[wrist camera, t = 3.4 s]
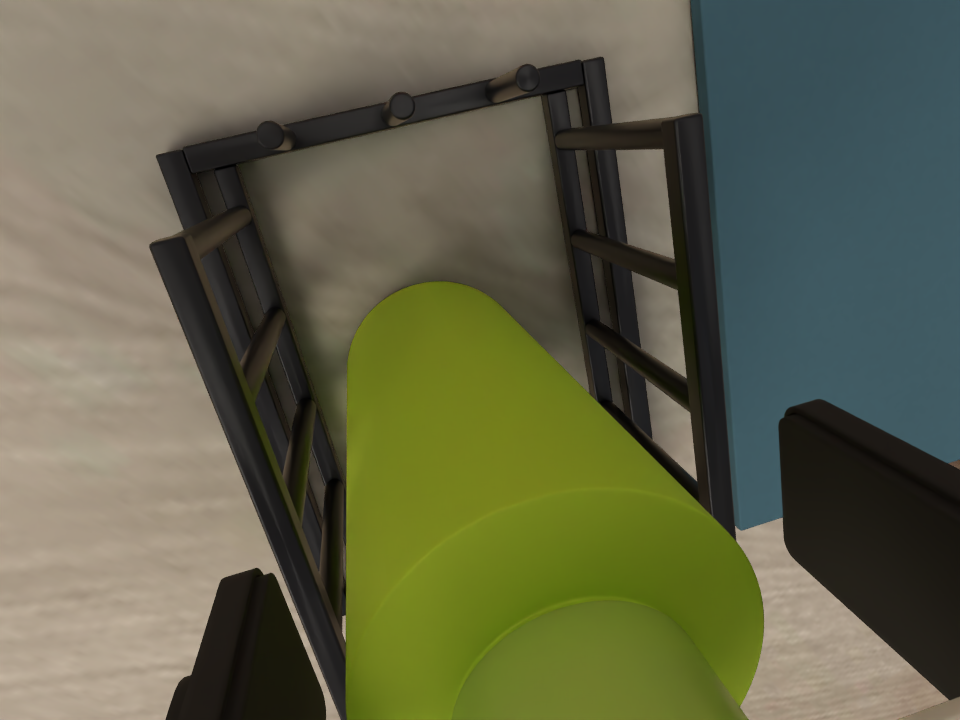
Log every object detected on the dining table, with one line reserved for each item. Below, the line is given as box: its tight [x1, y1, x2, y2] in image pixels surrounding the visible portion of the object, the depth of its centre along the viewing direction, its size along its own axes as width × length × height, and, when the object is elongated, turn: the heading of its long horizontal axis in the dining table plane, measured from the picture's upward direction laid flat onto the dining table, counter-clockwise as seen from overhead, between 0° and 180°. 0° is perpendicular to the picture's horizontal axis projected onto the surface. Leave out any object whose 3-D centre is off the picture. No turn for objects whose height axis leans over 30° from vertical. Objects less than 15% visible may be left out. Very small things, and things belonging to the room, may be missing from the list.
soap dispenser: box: [346, 281, 764, 720], centre depth 11 cm, size 6×7×20 cm
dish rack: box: [149, 57, 736, 720], centre depth 17 cm, size 16×13×8 cm
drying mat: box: [691, 0, 960, 531], centre depth 22 cm, size 20×11×1 cm, turn 12°
